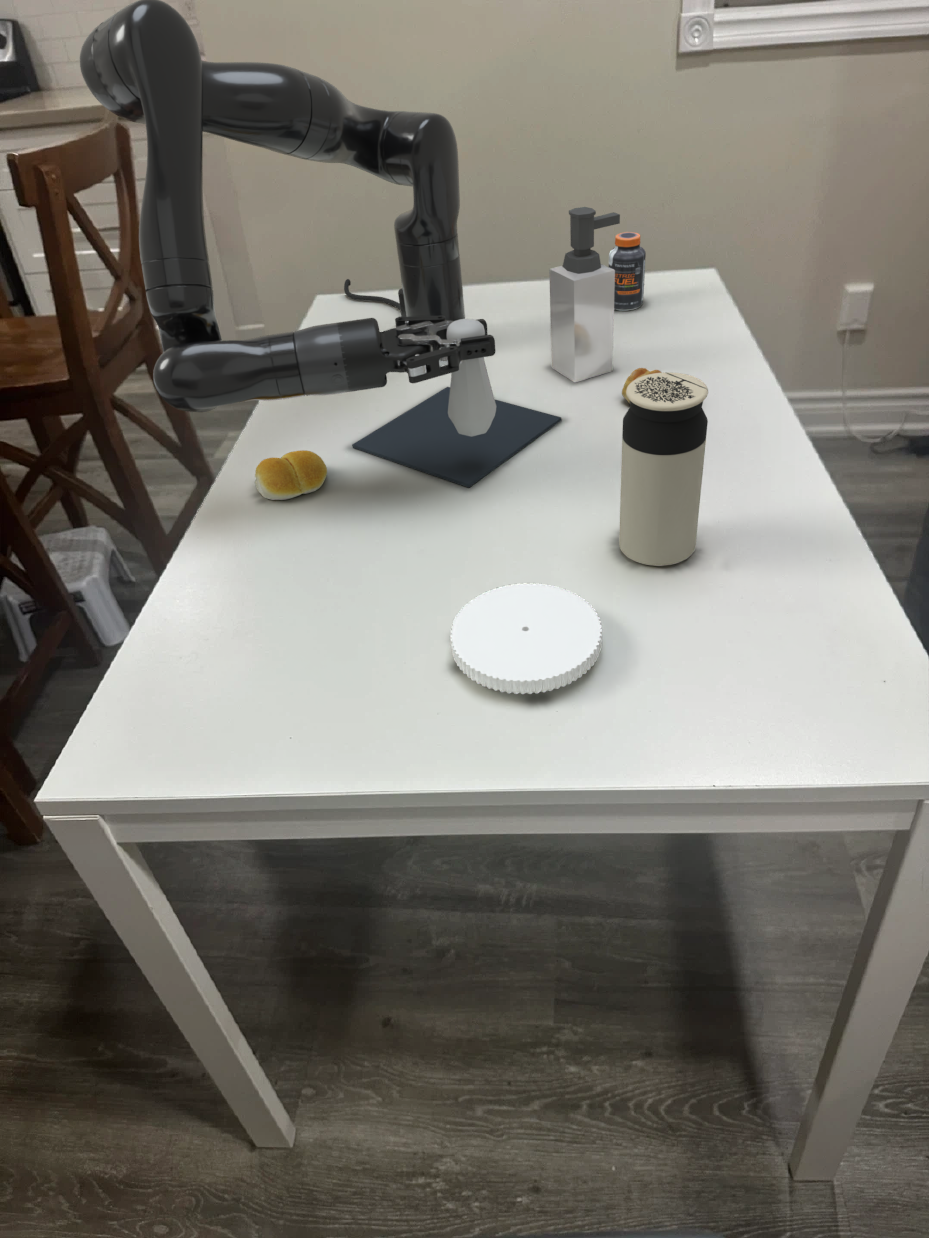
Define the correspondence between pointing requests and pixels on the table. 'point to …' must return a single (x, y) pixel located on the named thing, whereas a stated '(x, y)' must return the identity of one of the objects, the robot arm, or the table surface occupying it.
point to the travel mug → (662, 467)
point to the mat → (455, 439)
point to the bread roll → (290, 475)
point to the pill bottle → (628, 271)
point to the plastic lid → (526, 638)
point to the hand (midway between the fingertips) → (489, 336)
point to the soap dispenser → (583, 302)
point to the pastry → (635, 375)
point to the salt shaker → (470, 386)
